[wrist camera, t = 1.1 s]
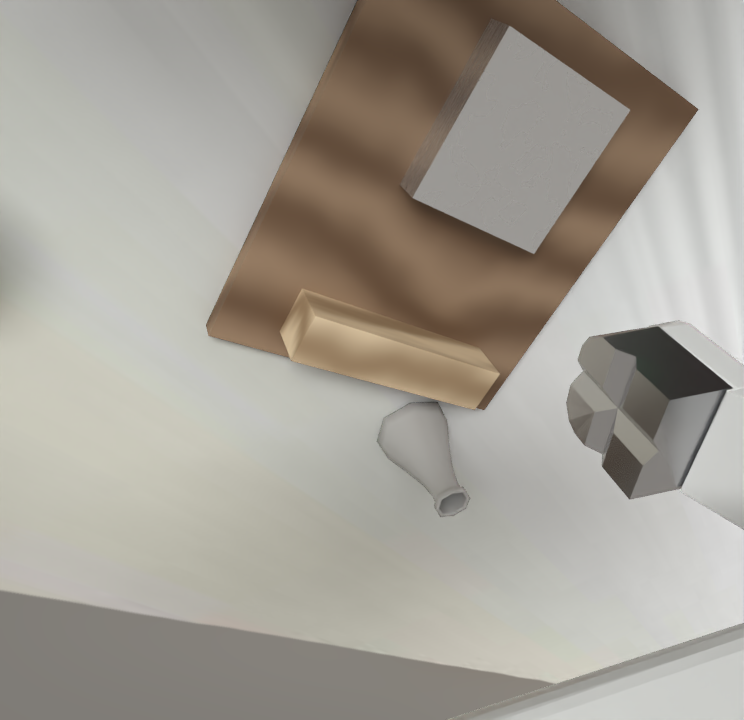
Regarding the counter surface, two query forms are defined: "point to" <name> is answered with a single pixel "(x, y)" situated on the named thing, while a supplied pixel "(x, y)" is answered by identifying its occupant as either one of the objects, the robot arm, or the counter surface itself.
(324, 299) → the bar
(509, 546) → the counter surface
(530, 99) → the aluminium plate
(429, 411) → the flask
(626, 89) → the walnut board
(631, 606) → the counter surface
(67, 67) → the counter surface
